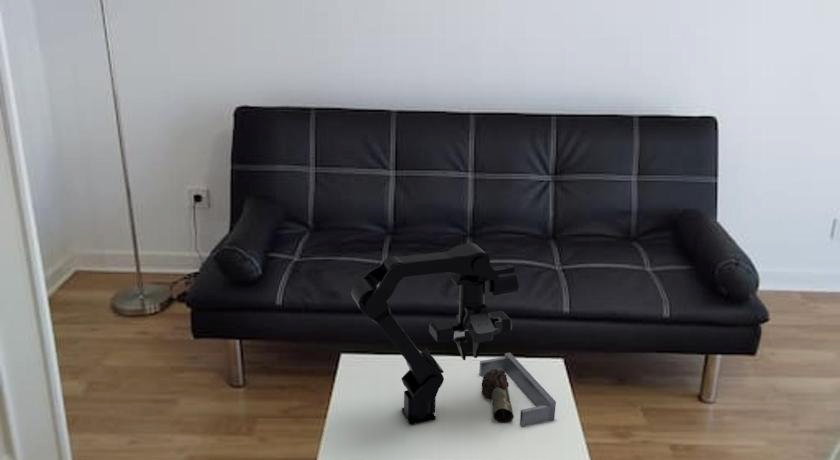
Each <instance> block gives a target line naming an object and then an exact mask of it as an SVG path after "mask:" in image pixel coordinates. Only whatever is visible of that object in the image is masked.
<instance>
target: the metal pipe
mask: <svg viewBox="0 0 840 460" xmlns="http://www.w3.org/2000/svg"><path fill="white" fill-rule="evenodd" d="M482 377H483V378H482V379H481V394H482V396H483V398H485V399H487V400H490V401H491V404H492V418H493V420H494V421H496V422H497V423H498V424H510V423H511V422H512V421H513V420H514V417H515V416H514V412H513V408H512V404H511V399H510V398H511V397H510V394H509V388H508V387H509V384H510V383H509V382H508V377H507V375H506V372H504V371H502V370H501V371H498V370H497V369H494V370H490V372H487V373H486V374H485V376H482Z"/></svg>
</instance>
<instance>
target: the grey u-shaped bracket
mask: <svg viewBox="0 0 840 460" xmlns="http://www.w3.org/2000/svg"><path fill="white" fill-rule="evenodd" d="M494 369H497V370H498V371H501V370H502V371H504V373H505V374H507V376H508V377H509V378H510V379H511V380H512V381H513V382H514V384H515V385H516V386H517V387H518V388H519V390H521V391H522V393H523V394H524V395H525V396H526V397H527V399H528V400H529V401H530V402H531V403H532V404H533V405H534V407H532V406H531V407H529V408H524V409H520V414H519V415H520V419H519V425H520V426H521V428H523V427H527V426H533V425H537V424H542V423H543V424H544V423H547V422H552V421H555V416H556V406H557V402H556V400H555V399H554V398H553V397H552V396H551V395H550V393H548V391H546V389H545V388H544V387H543V386H542V385H541V383H539V382H538V381H537V379H535V378H534V377H533V375H532V374H530V372H529V370H527V369H526V368H525V367H524V366H523V365H522V364H521V362H519V360H518V359H517V358H516V357H515V356H514V355H513V353H511V352H505V353H504V356H502V357H497V358H496V357H495V358H490V359H485V360H480V361H479V373H478V375H479V376H480V377H481V378H482V377H484V376H485V374H486V373H487V372H490V370H494Z"/></svg>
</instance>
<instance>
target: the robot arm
mask: <svg viewBox="0 0 840 460" xmlns="http://www.w3.org/2000/svg"><path fill="white" fill-rule="evenodd" d="M515 271H516V270H515V267H514V266H513V265H512V264H506V265H502V266H501V265H499V266H494V267H492V266H491V259H490V256H489V255H488V254H487V252H485V251H484V250H483V249H482V248H481V247H480V246H478V245H477V244H476V243H474V242H468V243H464V244H460V245H456V246H454V247H453V248H451V249H450V250H446V251H442V252H432V253H431V252H430V253H424V254H423V253H421V254H412V255H402V256H397V255H396V256H395V255H394V256H393V255H391V256H388V257H386V258H385V259H384V260H383V261H382V263H381V264H379V265H377V266H376V267H374V268H372V269H370V270H369V271H368V272H367V273H366V274H365V275H364V276H363V277H362V278H361V279H359V280H357V281H355V283H354V284H353V286H352V287H351V292H350V294H351V297H352V300H354V302H355V304H356V305H357V307H358V308H359V310H360V311H361V313H363V314H364V315H365V316H366V317H368V318H369V319H370V321H373V322H374V323H376V324H377V325H378V326H380V328H381V330H382V331H383V332H384V333H385V335H386V336H387V338H389V340H390V341H391V343H392V344H393V345H394V346H395V348H396V349H397V350H398V352H399V353H400V354H401V355H402V357H403V358H404V360H405V362H406V365H407V367H408V369H409V370H408V371H406V373H405V374H404V375H403V376H402V377H401V381H402V384H403V386H404V387H405V388H406V390H404V391H403V407H402V408H401V412H402V414H403V415H404V418H405V419H406V420H407V422H408V424H409V425H417V424H422V423H426V422H427V423H428V422H432V421H435V420H436V419H437V417H436V415H435V413H436V398H437V395H438V392H439V390H440V388H441V387H442V385H443V383H444V380H445V379H444V376H443V373H444V370H443V368H442V367H441V365H440V364H439V363H438V362H437V360H436V359H435V358H434V357H433V355H432V354H431V352H430V351H429V350H428V348H424V350H423V351H421V350H420V349H418V348H417V347H416V345H415V344H414V342H413V341H412V340H411V338H410V337H409V336H408V334H407V333H406V332H405V331H404V329H403V328H402V327H401V325H400V324H399V322H398V321H397V320H396V318H395V317H394V316H393V315H392V314H393V313H392V312H391V308H390V306H389V304H388V302H387V301H388V300H389V299H390V298H391V297H392V296H393V294H394V291H395V289H396V288H397V287H398V284H399V283H400V282H401V281H402V279H404V278H412V277H413V278H414V277H421V276H430V275H440V274H449V273H450V274H453V275H452V276H451V277H450V279H451V280H452V282H453V283H454V284H455V285H457V286H459V298H456V300H457V301H456V303H457V304H458V314H457V313H456V320H457V321H458V323H449V322H448V320H447V319H439V320H434V321H431V322H430V323H429V326H428V333H429V334H430V335H431V336H432V338H433V339H434V340H435V342H436V343H446V342H447V343H448V342H451V341H452V340H453V342H455V343H456V345H457V349H458V352H459V353H460V357H461V358H462V361H466V359H467V346H466V345H467V341H468V340H469V339H468V337H466V335H465V334H466V333H465V332H466V331H467V332H468V333H469V335H470V337H471V339H472V353H473V354H472V355H473V357H474V359H477V358H478V357H479V354H480V352H481V350H482V347H484V344H485V342H491V341H492V340H493V339H494V336H496V335H497V336H498V335H500V333H505V332H511V331H512V330H513V322H512V319H511V318H510V317H509V316H508V315H507V314H506V313H505V312H504V311H503V310H497V311H490V312H488V309H487V305H486V303H485V300H486V299H485V295H486V293H488V294H489V296H491V297H492V298H493V297H500V296H505V295H512V294H516V293H517V292H518V290H519V282H518V277H517V274H516V272H515ZM378 284H379V286H378Z"/></svg>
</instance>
